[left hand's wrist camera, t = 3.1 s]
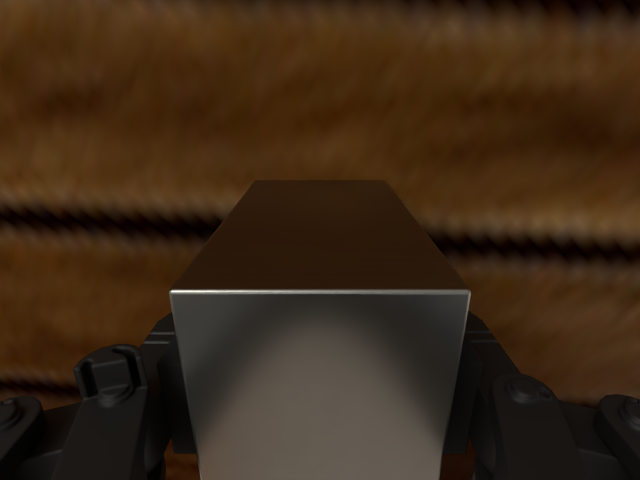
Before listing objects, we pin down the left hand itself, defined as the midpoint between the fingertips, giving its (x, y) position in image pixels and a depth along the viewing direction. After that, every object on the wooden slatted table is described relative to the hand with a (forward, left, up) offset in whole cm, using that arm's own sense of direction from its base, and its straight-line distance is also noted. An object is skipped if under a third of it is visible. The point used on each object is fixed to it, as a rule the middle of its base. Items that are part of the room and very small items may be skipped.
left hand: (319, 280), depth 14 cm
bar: (0, +7, -1) cm, 7 cm away
